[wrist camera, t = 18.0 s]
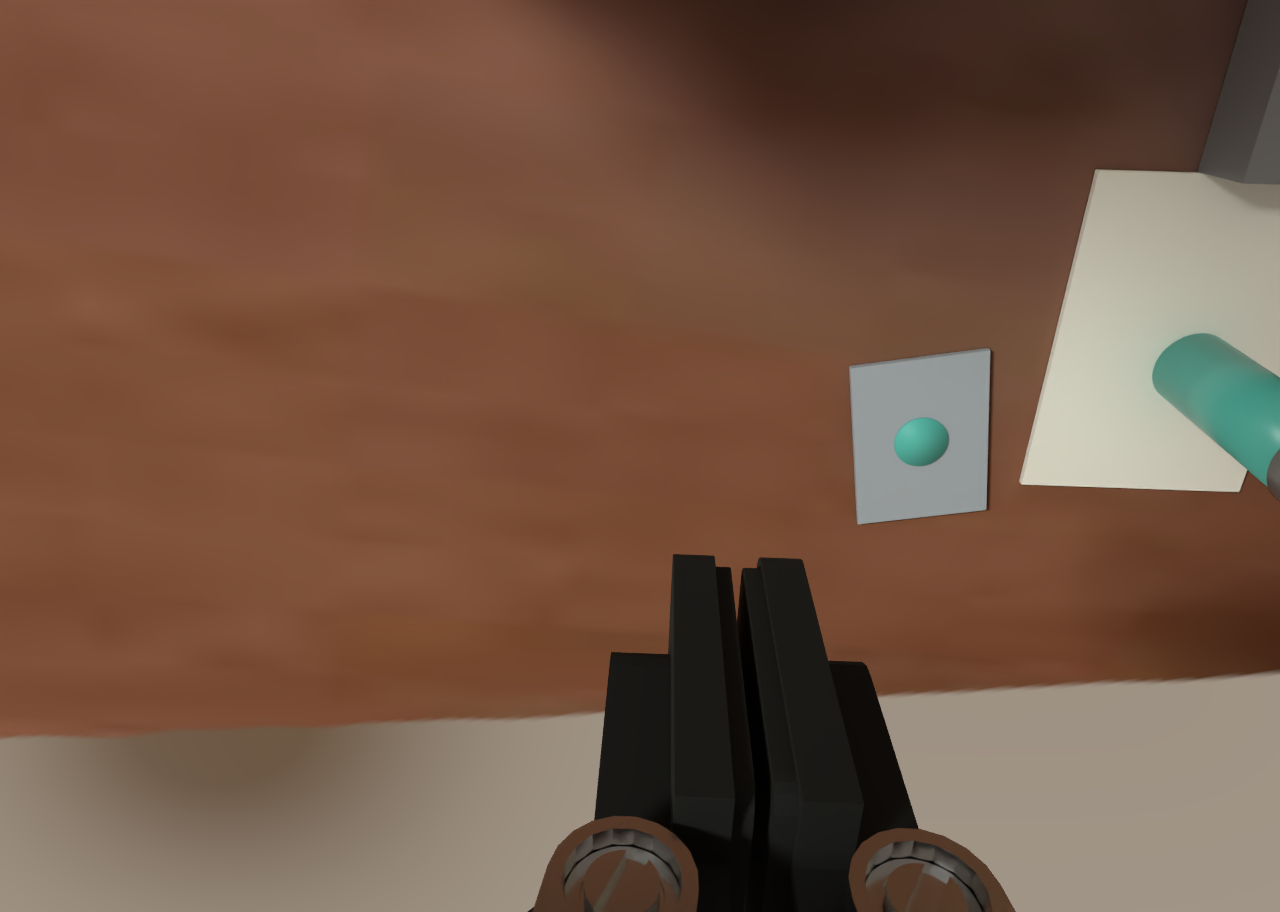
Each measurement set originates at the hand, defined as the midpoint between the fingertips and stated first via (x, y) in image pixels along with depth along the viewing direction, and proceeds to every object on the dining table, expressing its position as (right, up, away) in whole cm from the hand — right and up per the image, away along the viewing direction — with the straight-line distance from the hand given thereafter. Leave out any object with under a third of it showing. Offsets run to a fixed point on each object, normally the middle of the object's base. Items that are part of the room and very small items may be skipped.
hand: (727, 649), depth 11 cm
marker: (+23, +6, +26) cm, 35 cm away
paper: (+22, +8, +26) cm, 35 cm away
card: (+12, +3, +28) cm, 31 cm away
